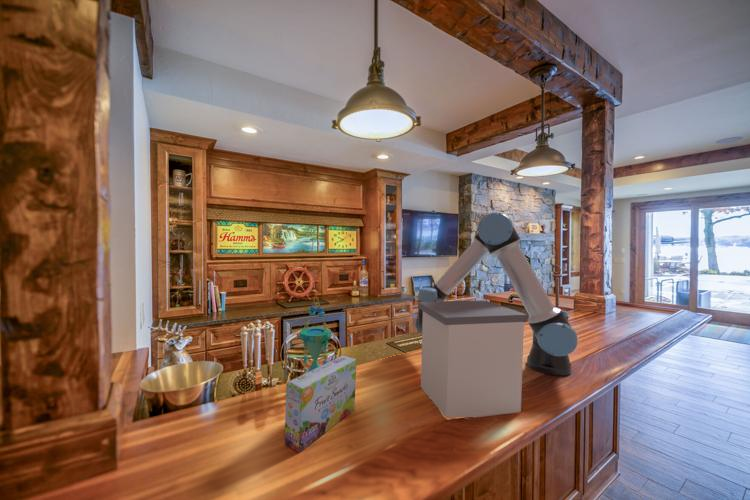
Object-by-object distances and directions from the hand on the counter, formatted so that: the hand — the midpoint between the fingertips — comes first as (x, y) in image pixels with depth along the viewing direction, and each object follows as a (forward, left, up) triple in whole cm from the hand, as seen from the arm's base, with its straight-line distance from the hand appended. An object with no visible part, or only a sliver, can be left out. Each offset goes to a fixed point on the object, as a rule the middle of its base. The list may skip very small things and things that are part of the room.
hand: (466, 356), depth 91 cm
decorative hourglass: (+45, -14, -14) cm, 49 cm away
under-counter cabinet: (-1, 0, -13) cm, 13 cm away
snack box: (+43, +6, -14) cm, 46 cm away
